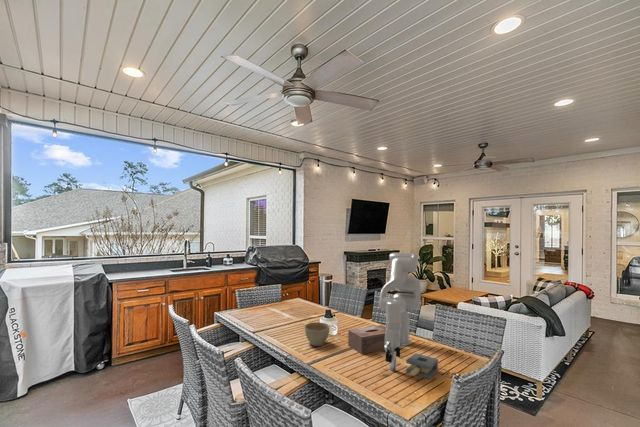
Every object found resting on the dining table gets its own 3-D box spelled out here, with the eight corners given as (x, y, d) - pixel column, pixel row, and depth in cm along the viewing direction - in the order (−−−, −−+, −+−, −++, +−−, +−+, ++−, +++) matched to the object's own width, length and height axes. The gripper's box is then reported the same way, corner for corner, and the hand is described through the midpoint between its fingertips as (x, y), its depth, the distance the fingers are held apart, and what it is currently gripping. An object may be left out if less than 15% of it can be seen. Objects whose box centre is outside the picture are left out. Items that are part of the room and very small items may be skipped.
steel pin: (389, 370, 162) (389, 350, 162) (391, 368, 164) (391, 349, 165) (394, 372, 160) (394, 352, 160) (397, 370, 162) (397, 350, 163)
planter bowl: (299, 345, 195) (299, 327, 196) (312, 337, 209) (312, 321, 210) (322, 350, 187) (322, 331, 188) (333, 341, 202) (334, 324, 202)
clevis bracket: (401, 376, 156) (401, 363, 156) (415, 364, 170) (415, 353, 170) (425, 383, 148) (425, 370, 149) (437, 370, 162) (437, 359, 163)
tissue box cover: (381, 340, 207) (381, 324, 207) (395, 347, 194) (395, 331, 195) (348, 346, 195) (348, 330, 196) (361, 354, 183) (361, 337, 183)
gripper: (393, 320, 172) (393, 352, 171) (378, 327, 159) (378, 362, 158) (406, 323, 167) (406, 356, 166) (392, 330, 154) (392, 366, 153)
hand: (393, 358), depth 162 cm, fingers open, 9 cm apart
